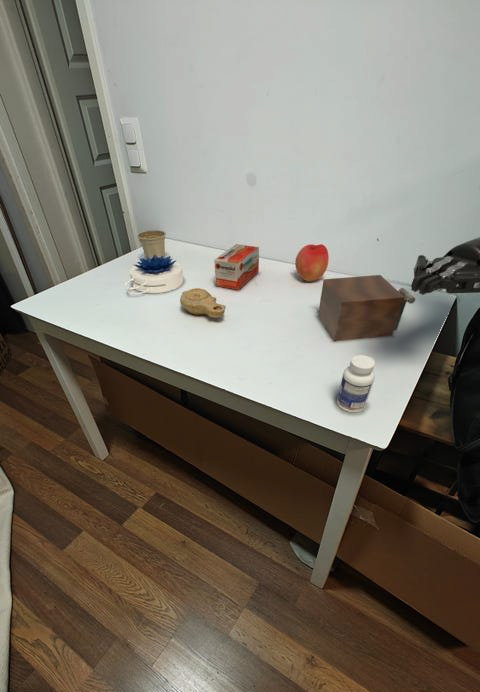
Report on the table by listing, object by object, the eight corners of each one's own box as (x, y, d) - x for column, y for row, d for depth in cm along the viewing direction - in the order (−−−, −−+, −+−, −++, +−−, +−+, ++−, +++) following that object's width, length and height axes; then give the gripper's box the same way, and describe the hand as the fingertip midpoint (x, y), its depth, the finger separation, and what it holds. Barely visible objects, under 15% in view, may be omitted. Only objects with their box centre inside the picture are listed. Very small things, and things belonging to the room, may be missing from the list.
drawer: (391, 307, 91) (401, 277, 85) (413, 328, 83) (425, 297, 77) (327, 313, 89) (332, 283, 83) (343, 335, 81) (350, 304, 76)
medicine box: (236, 268, 113) (236, 242, 107) (259, 272, 110) (259, 246, 105) (215, 286, 103) (213, 259, 98) (239, 291, 101) (238, 263, 95)
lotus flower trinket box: (152, 247, 109) (104, 267, 97) (191, 256, 103) (144, 279, 91) (156, 269, 114) (111, 291, 102) (193, 279, 108) (149, 304, 96)
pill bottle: (343, 391, 68) (354, 349, 61) (369, 401, 66) (383, 359, 59) (331, 406, 65) (341, 363, 58) (358, 417, 63) (372, 374, 56)
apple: (323, 274, 109) (329, 240, 102) (326, 286, 102) (332, 251, 95) (293, 273, 110) (296, 239, 103) (293, 285, 103) (297, 250, 96)
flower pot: (148, 255, 123) (143, 229, 116) (173, 257, 121) (169, 230, 115) (138, 265, 116) (132, 238, 110) (164, 267, 115) (159, 239, 109)
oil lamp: (222, 326, 87) (221, 307, 83) (171, 318, 90) (168, 300, 86) (235, 307, 94) (235, 289, 90) (187, 301, 97) (185, 283, 93)
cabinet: (370, 311, 91) (380, 274, 84) (391, 335, 83) (405, 297, 76) (317, 315, 90) (323, 279, 83) (334, 341, 81) (342, 302, 74)
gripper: (447, 230, 64) (390, 250, 57) (525, 249, 56) (470, 276, 49) (432, 271, 69) (377, 294, 62) (500, 294, 61) (447, 324, 54)
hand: (418, 286), depth 55 cm, fingers closed
